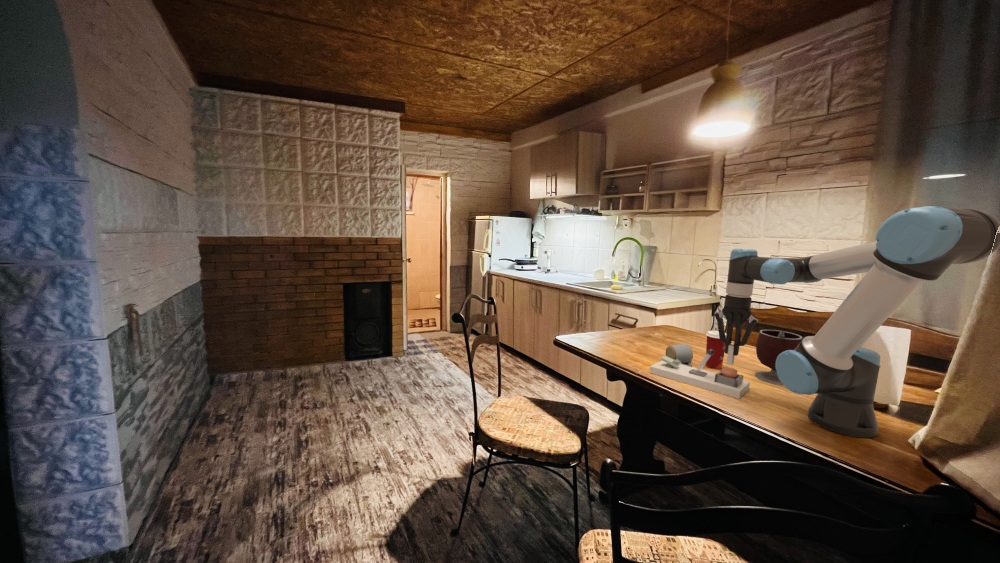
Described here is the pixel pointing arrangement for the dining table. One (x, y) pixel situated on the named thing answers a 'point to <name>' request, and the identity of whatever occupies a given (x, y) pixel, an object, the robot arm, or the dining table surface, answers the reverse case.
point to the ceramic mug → (680, 353)
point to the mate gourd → (773, 351)
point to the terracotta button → (729, 372)
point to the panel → (702, 379)
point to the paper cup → (715, 350)
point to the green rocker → (671, 361)
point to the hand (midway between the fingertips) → (730, 363)
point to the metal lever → (705, 359)
